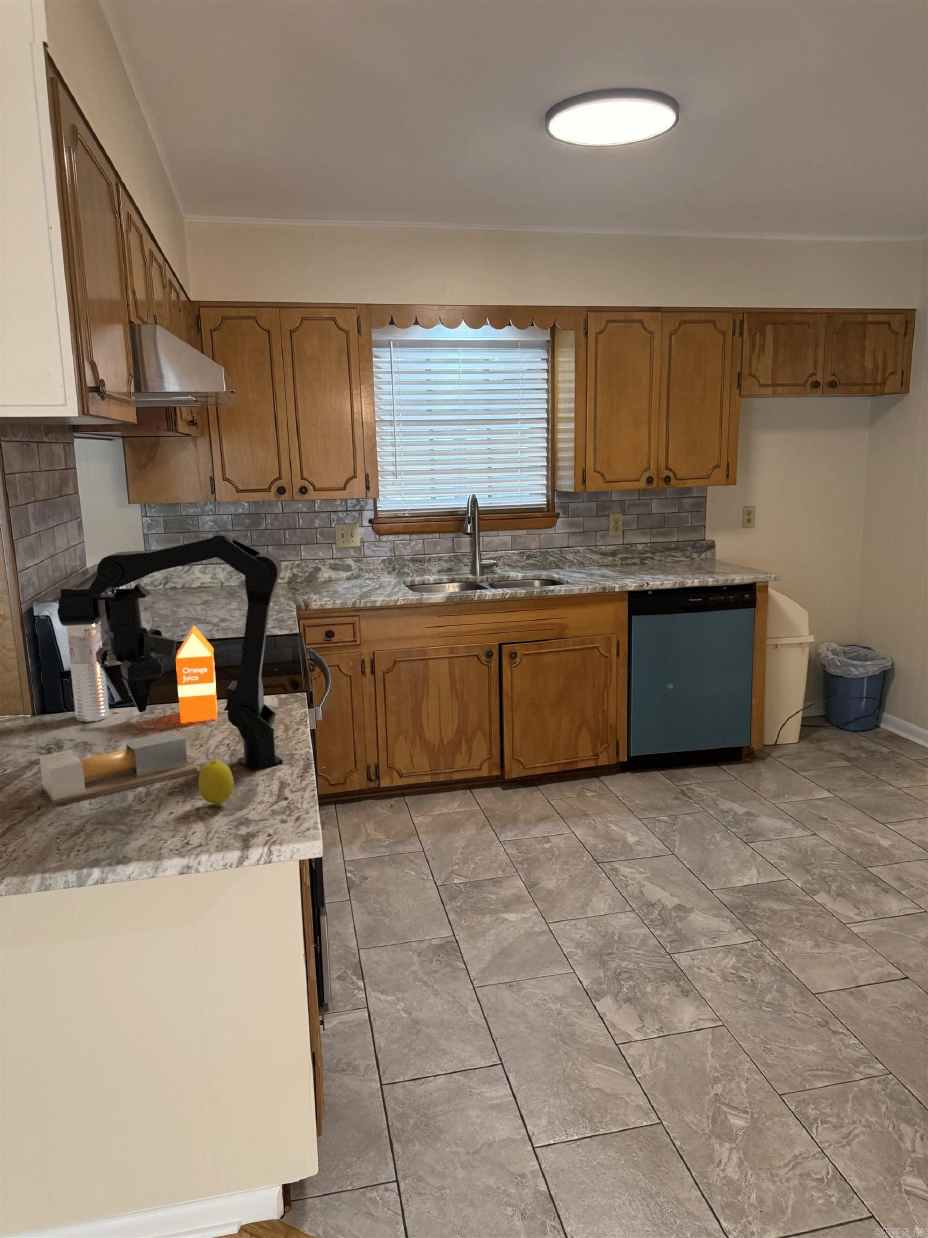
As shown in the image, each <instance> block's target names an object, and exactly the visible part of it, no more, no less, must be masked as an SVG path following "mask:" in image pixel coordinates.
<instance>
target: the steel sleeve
mask: <svg viewBox="0 0 928 1238" xmlns="http://www.w3.org/2000/svg"><path fill="white" fill-rule="evenodd" d="M124 743H125V750H128V749H133V750H134V756H135V767H136V768H135V769H130V771H131V772H132V773H133V774H134V775H135V776H136V777H137V778H138V777H142V776H147V775H151V774H155V773H159V772H164V771H168V770H172V769H176V768H180V767H185V766H187V761H188V758H187V757H188V756H187V747H186V745H187V744H186V743H187V742H186V737H185V736H184V735H181V733H179V732H177V731H176V730H169V731H164V732H161V733H160V732H159V733H155V734H152V735H147V736H146V735H145V736H141V737H135V738H132V739H127V740H124Z"/></svg>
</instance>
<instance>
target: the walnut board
mask: <svg viewBox="0 0 928 1238" xmlns="http://www.w3.org/2000/svg"><path fill="white" fill-rule="evenodd" d="M195 773H198V768H197V767H196V766H195V765H194V764H192V763H191V762H190V761H189V760H187V766H185V767H180V768H176V769H172V770H168V771H164V772H159V773H155V774H151V775H147V776H142V777H138V778H137V777H136V776H135V775H134V774H133V773H132V772H131V771H130V770H126V771H122V772H117V773H113V774H108V775H104V776H100V777H95V778H91V779H87V780H84V782H85V792H86V793H81V794H77V795H73V796H69V797H65V798H61V799H56V800H53V799H52V797H51V796H50V795H49V793H48V792H47V791H46V789H45V788H44V787H43V783H42V784H41V789H42V790H43V791H44V793H45V795H46V796H47V797H48V798H49V800H50V802H52V803H53V805H54V806H55V807H59V806H63V805H67V804H73V803H76V802H79V801H84V800H88V799H93V798H95V797H100V796H104V795H110V794H113V793H117V792H122V791H125V790H128V789H132V788H133V789H134V788H137V787H138V788H139V787H142V786H146V785H150V784H153V783H159V782H163V781H166V780H170V779H175V778H178V777H182V776H187V775H190V774H191V775H192V774H195Z"/></svg>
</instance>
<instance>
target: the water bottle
mask: <svg viewBox="0 0 928 1238" xmlns="http://www.w3.org/2000/svg"><path fill="white" fill-rule="evenodd" d="M66 635H67V639H68V651H69V661H70V663H69V667H70V674H71V686H72V695H73V703H74V713H75V718H76V720H77V719H78V720H79V722H80V721H85V722H84V723H93V722H92V721H95V722H98V721H99V720H100V721H103V720H105V719H107V718H108V717H109V715H110V707H109V699H108V698H109V697H108V696H109V695H108V688H107V680H106V679H107V676H106V675H105V673H104V672H103V670H102V669H101V668H100V665H101V664H99V663H97V659H96V652H97V651H98V650H99V648H100V647H103V643H102V626H101V625H100V622H99V623H98V624H93V625H73V626H66ZM102 719H103V720H102ZM78 720H77V721H78Z"/></svg>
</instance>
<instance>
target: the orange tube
mask: <svg viewBox="0 0 928 1238" xmlns="http://www.w3.org/2000/svg"><path fill="white" fill-rule="evenodd" d="M80 760H81V762H82V763H83V773H84V780H87V779H91V778H95V777H100V776H104V775H108V774H113V773H117V772H122V771H126V770H130V769H135V768H136V767H135V756H134V750H133V749H128V750H126V749H125V750H119V751H114V752H110V753H105V754H101V755H95V756H91V757H85V758H82V759H80Z"/></svg>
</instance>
